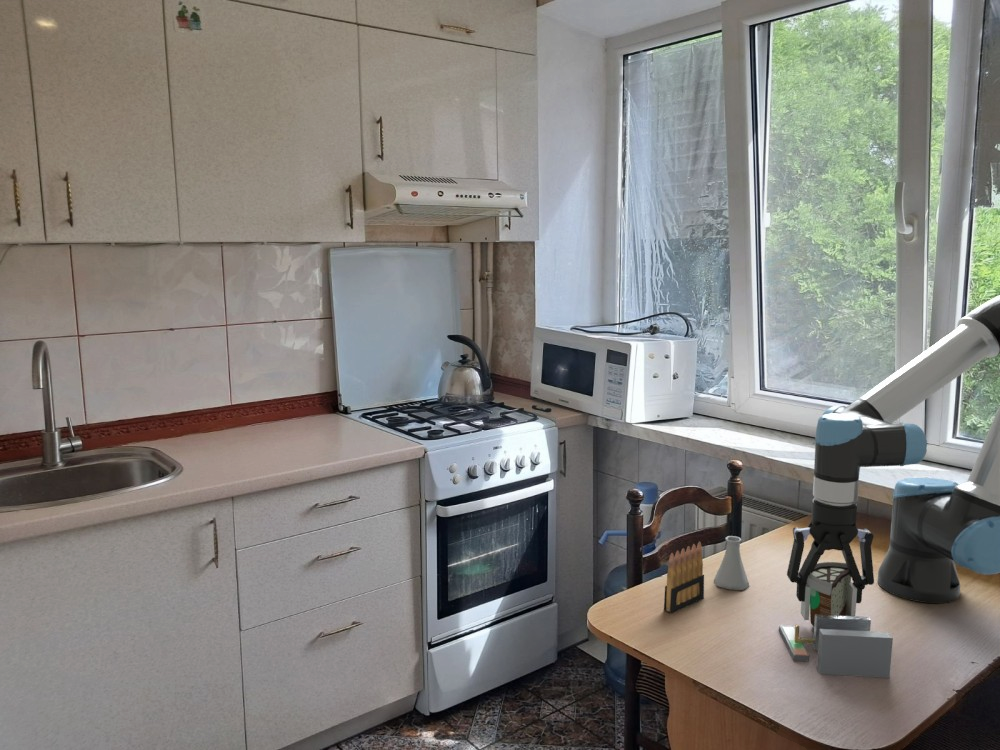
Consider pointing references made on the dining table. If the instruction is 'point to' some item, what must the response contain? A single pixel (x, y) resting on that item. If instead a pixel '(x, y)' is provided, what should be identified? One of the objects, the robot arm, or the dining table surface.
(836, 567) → the food container
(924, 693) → the dining table surface
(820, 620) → the plate
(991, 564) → the robot arm
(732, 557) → the flask
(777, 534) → the dining table surface
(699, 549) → the ammunition clip
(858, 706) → the dining table surface
